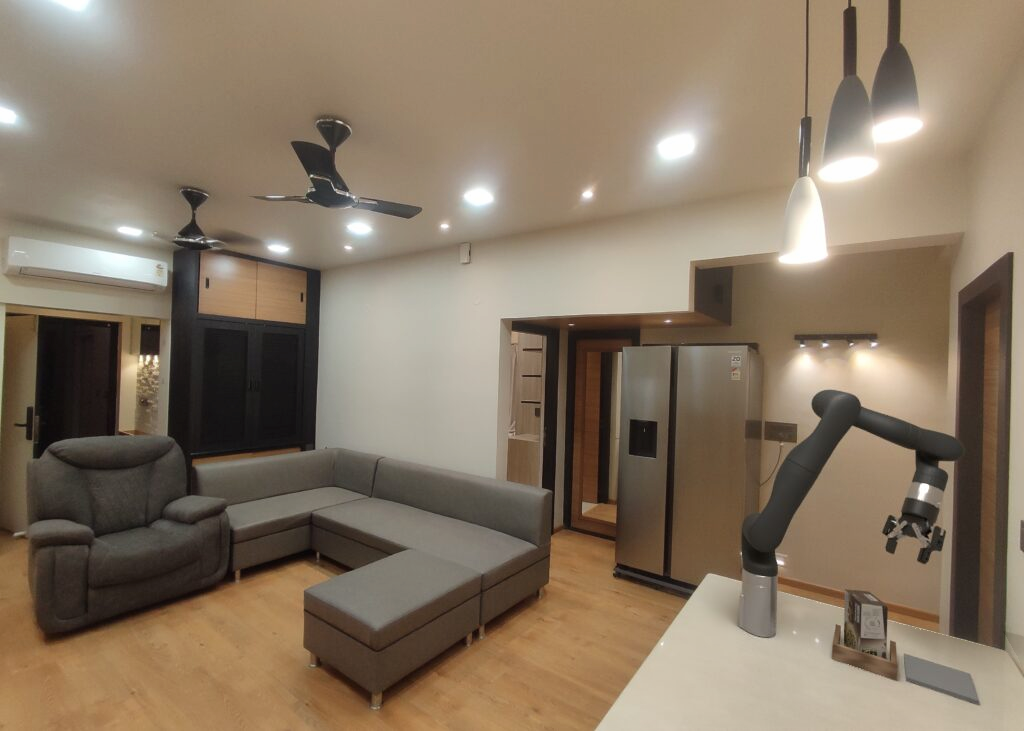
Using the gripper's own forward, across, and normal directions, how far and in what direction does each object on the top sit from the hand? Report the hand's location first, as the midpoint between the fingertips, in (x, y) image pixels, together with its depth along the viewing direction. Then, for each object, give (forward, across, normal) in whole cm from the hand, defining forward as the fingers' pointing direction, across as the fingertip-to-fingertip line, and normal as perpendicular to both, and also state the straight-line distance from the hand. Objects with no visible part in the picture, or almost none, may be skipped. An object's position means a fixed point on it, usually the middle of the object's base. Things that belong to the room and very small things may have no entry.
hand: (904, 557), depth 129 cm
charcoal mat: (+25, +8, +11) cm, 28 cm away
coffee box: (+29, -3, +1) cm, 29 cm away
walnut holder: (+29, -3, +1) cm, 29 cm away
